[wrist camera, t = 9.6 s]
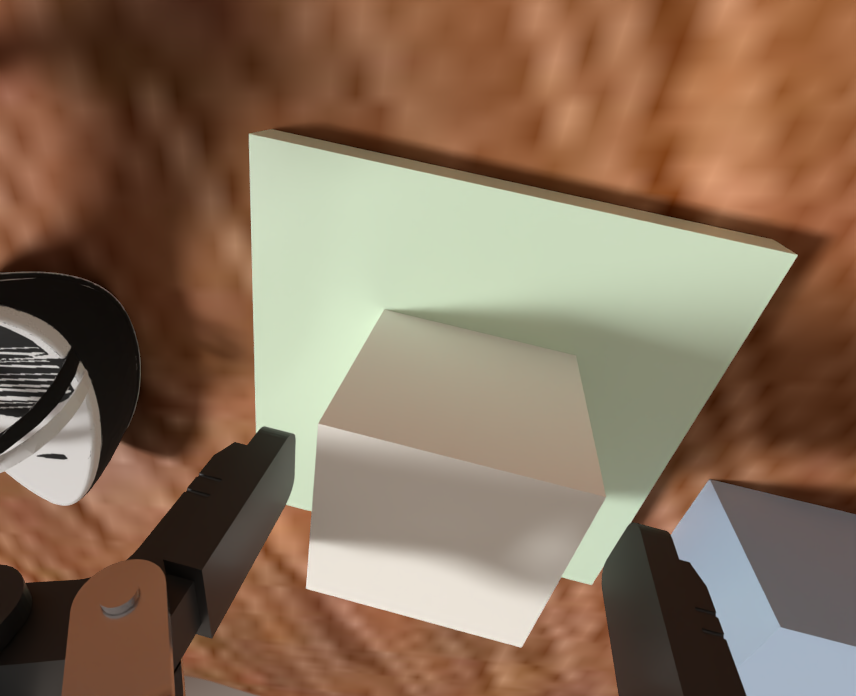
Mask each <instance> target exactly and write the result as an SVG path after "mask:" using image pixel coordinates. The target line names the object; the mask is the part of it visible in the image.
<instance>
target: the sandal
mask: <svg viewBox="0 0 856 696" xmlns="http://www.w3.org/2000/svg"><path fill="white" fill-rule="evenodd" d="M140 379H141V361H140V353H139V346H138V342H137V338H136V334H135V330H134V328H133V325H132V323H131V320H130V318H129V316H128V314H127V312H126V311H125V309H124V307H123V306H122V304H121V303H120V302H119V301H118V300H117V299H116V298H115V297H114V296H113V295H112V294H111V293H110V292H109V291H107V290H106V289H104V288H103V287H101V286H99V285H97V284H95V283H93V282H91V281H88V280H86V279H83V278H79V277H76V276H71V275H66V274H60V273H52V272H0V473H1V472H3V471H5V472H6V473H8V474H9V475H10V476H11V477H13V478H14V479H15V480H16V481H18V482H19V483H20V484H22V485H23V486H24V487H26V488H27V489H29V490H30V491H32V492H33V493H35V494H37V495H38V496H40V497H42V498H44V499H46V500H48V501H50V502H52V503H54V504H57V505H71V504H74V503H76V502H78V501H79V500H80V499H81V498H83V497H84V496H85V495H86V494H87V493H88V492H89V491H90V489H91V488H92V487H93V485H94V484H95V483H96V481H97V480H98V479H99V477H100V476H101V474H102V473H103V471H104V470H105V468H106V466H107V465H108V463H109V461H110V460H111V458H112V456H113V454H114V452H115V450H116V449H117V447H118V445H119V443H120V441H121V438H122V436H123V434H124V432H125V431H126V429H127V428H128V426H129V424H130V422H131V419H132V417H133V414H134V412H135V408H136V404H137V400H138V396H139V388H140Z"/></svg>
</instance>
